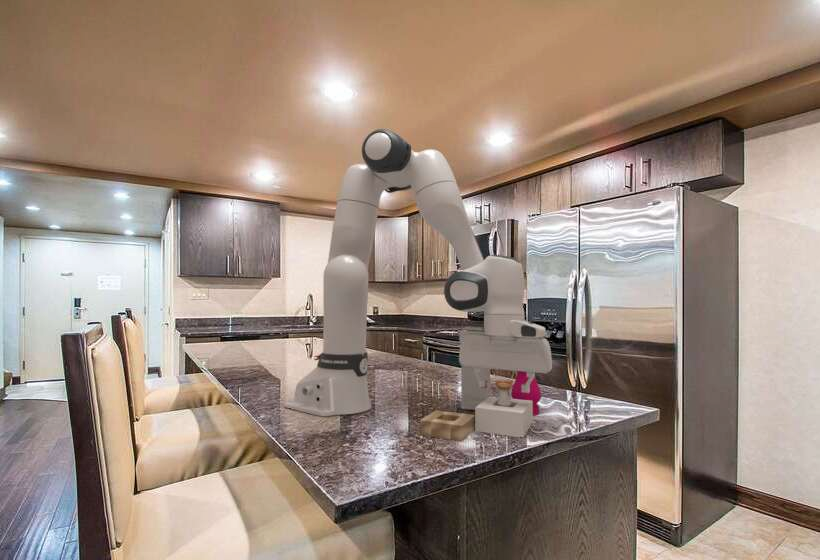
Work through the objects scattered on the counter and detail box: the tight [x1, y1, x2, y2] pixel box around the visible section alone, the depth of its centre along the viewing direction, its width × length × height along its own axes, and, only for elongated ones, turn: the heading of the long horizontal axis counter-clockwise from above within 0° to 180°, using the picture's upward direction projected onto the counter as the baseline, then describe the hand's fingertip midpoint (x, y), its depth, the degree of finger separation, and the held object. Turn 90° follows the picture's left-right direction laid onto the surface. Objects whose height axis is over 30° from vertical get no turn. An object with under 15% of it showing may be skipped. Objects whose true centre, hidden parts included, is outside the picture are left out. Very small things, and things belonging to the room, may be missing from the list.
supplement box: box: [460, 366, 491, 411], centre depth 112 cm, size 7×7×13 cm
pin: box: [495, 379, 514, 407], centre depth 94 cm, size 4×4×10 cm
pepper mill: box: [511, 371, 542, 416], centre depth 107 cm, size 7×7×20 cm
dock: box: [474, 395, 534, 439], centre depth 94 cm, size 10×12×5 cm
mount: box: [419, 409, 475, 442], centre depth 90 cm, size 9×9×3 cm
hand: (503, 390), depth 94 cm, fingers open, 8 cm apart
